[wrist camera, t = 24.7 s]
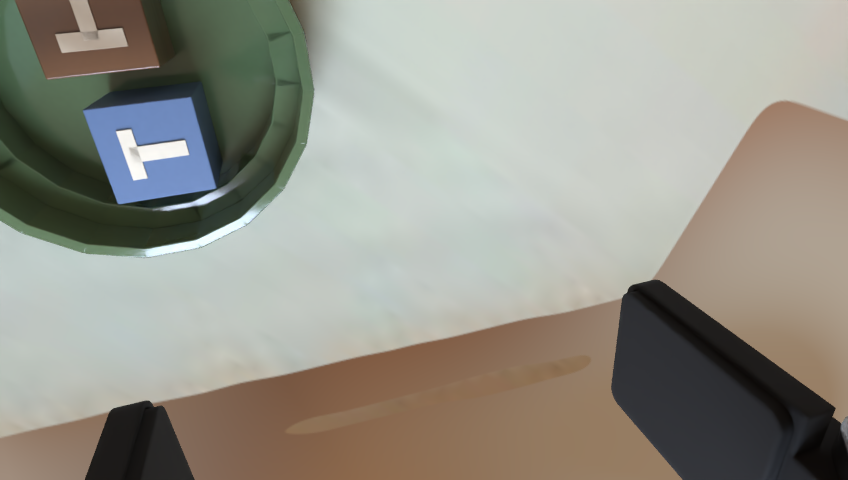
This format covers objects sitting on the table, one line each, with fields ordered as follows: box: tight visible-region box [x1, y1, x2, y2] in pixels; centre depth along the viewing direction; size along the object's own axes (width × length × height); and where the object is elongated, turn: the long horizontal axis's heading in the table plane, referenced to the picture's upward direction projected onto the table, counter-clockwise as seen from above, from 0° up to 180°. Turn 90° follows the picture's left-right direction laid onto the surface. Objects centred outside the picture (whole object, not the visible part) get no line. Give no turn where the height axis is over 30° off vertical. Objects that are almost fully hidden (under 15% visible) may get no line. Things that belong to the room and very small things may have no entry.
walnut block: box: [15, 0, 175, 80], centre depth 25 cm, size 5×5×5 cm
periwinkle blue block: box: [83, 82, 223, 204], centre depth 28 cm, size 5×5×5 cm
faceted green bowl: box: [0, 0, 314, 258], centre depth 27 cm, size 18×18×6 cm
